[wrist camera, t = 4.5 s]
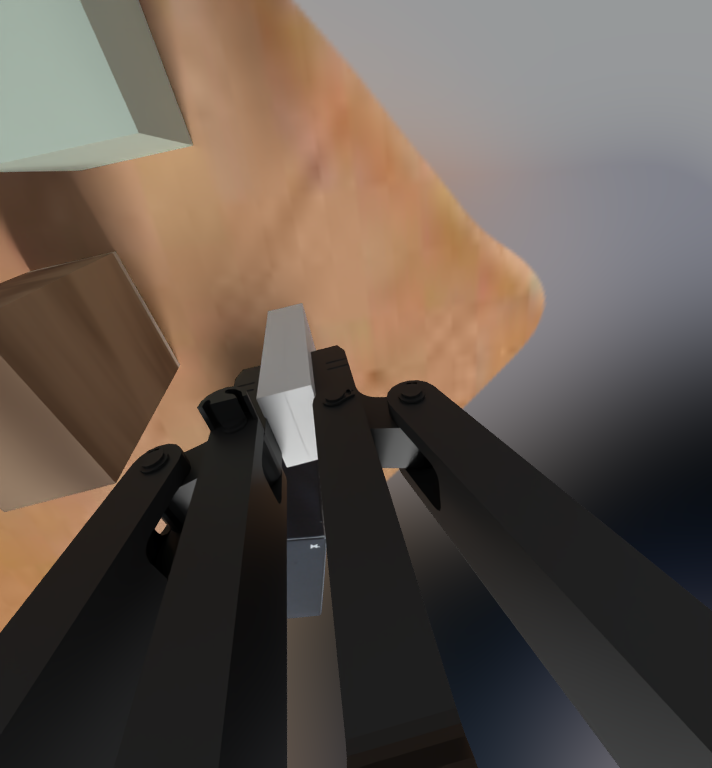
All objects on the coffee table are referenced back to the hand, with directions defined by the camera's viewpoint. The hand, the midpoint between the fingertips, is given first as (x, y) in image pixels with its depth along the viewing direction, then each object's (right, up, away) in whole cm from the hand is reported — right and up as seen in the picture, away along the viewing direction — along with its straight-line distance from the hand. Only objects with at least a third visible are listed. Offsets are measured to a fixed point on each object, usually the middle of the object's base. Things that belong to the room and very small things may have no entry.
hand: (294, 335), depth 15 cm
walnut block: (-13, +2, +7) cm, 15 cm away
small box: (-4, -10, +17) cm, 20 cm away
